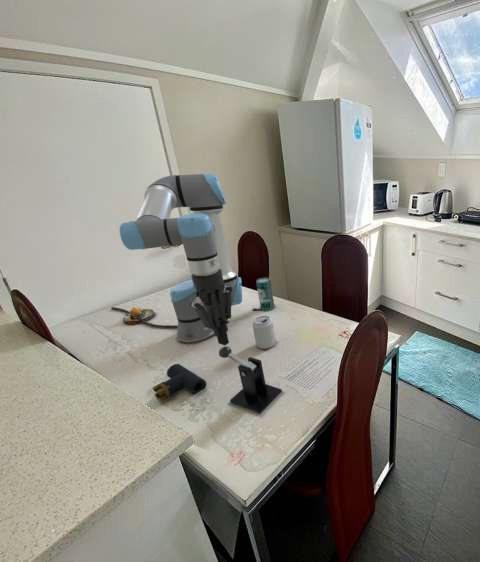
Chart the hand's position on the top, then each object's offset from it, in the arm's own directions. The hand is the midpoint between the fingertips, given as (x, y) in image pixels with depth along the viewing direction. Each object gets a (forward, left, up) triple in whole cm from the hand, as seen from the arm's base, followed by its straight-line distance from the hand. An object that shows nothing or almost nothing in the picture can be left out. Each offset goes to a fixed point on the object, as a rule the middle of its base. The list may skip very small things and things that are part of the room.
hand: (223, 343), depth 95 cm
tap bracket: (+9, +2, -19) cm, 21 cm away
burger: (-81, -3, -19) cm, 84 cm away
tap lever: (+3, +1, -7) cm, 8 cm away
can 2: (-14, +21, -19) cm, 32 cm away
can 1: (-41, +40, -19) cm, 61 cm away
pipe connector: (-15, -12, -19) cm, 27 cm away
